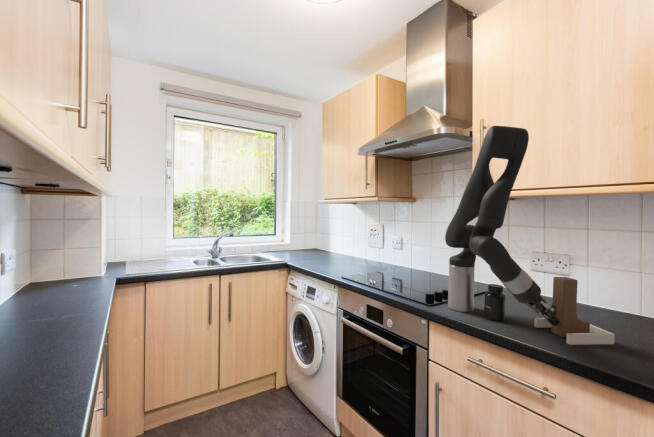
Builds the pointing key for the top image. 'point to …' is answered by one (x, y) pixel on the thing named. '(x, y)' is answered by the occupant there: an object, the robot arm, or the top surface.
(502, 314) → the supplement bottle
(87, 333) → the top surface
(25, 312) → the top surface
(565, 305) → the wooden block
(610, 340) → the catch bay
